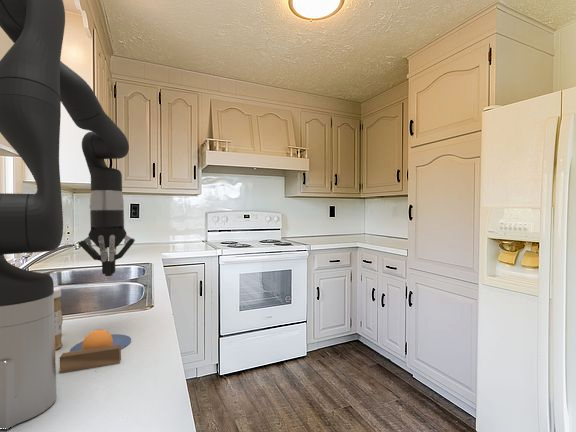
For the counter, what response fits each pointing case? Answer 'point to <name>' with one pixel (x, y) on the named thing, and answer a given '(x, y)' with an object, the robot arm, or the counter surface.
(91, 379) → the counter surface
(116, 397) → the counter surface
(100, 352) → the stopper wall
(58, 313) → the sprinkles bottle
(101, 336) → the ball
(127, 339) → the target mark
